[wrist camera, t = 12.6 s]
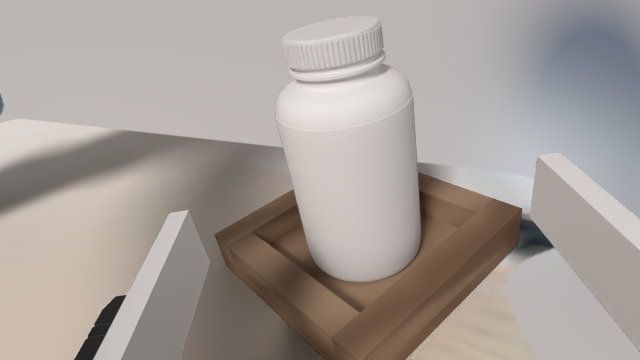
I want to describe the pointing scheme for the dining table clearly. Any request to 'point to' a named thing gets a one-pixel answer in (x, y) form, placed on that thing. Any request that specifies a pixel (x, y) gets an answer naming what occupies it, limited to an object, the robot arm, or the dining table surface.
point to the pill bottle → (350, 149)
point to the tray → (382, 295)
